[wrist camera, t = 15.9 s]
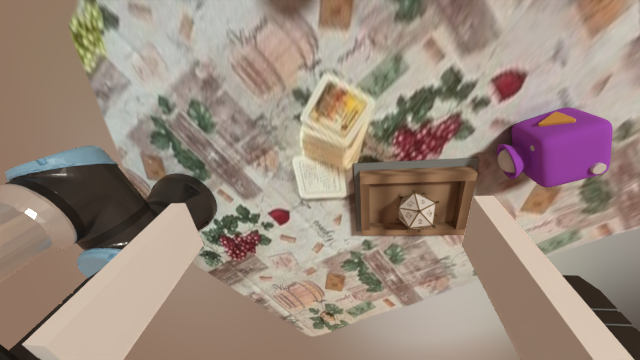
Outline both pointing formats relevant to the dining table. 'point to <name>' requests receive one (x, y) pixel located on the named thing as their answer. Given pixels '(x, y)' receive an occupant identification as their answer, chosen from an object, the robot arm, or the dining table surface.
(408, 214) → the game die
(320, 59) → the dining table surface
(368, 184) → the brown wooden tray
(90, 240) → the robot arm
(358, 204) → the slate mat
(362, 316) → the dining table surface
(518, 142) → the toy camera
